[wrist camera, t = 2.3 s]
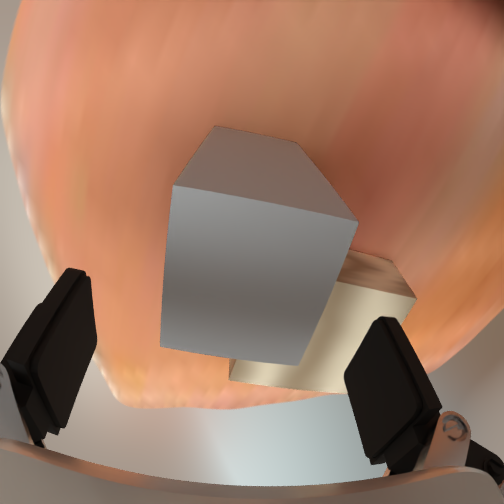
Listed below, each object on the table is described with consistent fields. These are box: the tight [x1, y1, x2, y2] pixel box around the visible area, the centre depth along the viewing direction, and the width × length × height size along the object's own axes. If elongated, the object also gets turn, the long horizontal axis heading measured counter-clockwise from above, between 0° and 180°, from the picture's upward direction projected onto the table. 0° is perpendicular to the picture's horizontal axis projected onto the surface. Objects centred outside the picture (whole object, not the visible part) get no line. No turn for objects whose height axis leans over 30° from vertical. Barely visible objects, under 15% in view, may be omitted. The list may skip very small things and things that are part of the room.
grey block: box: [160, 126, 359, 366], centre depth 18 cm, size 6×7×14 cm
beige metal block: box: [229, 249, 417, 394], centre depth 27 cm, size 12×12×6 cm
